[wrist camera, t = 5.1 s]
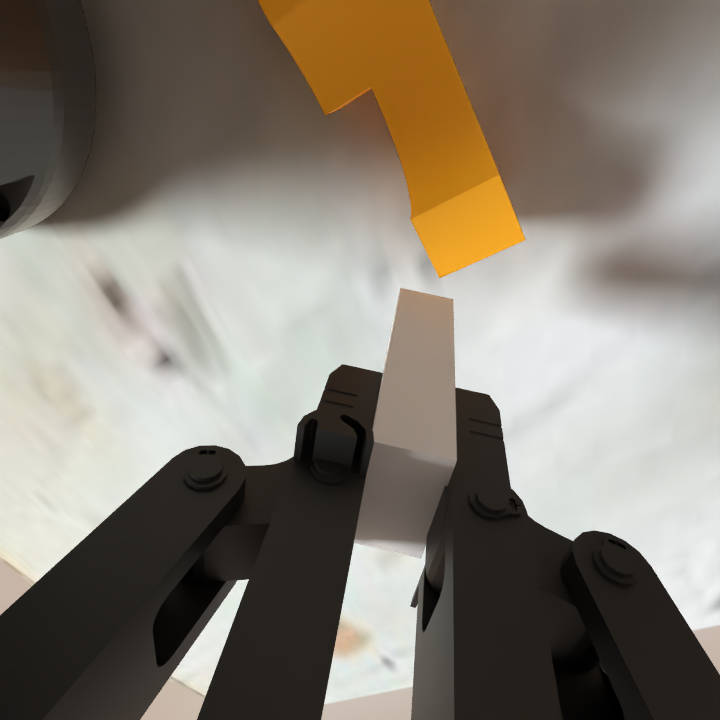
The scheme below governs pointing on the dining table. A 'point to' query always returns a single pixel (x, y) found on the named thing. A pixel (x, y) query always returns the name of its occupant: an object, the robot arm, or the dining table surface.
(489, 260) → the dining table surface
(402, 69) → the pipe clamp
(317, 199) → the dining table surface
